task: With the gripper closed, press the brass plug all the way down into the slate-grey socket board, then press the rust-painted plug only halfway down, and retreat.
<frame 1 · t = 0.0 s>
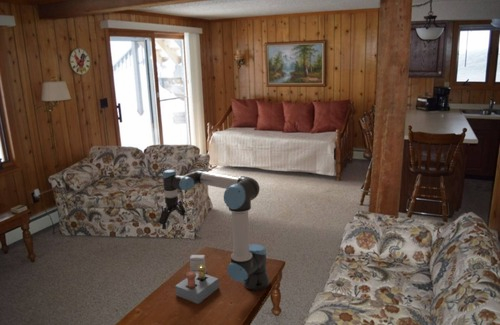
hand: (174, 229, 245), 28 cm above the table, fingers open, 13 cm apart
ink box: (198, 274, 249), on the table
brass plug: (201, 273, 232), point 9 cm above the table, slide at 0.0 cm
socket board: (197, 291, 231), on the table
rust plug: (191, 281, 225), point 9 cm above the table, slide at 0.0 cm
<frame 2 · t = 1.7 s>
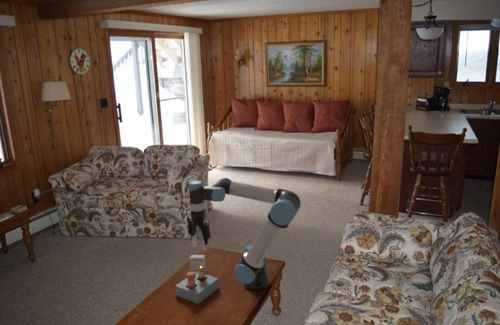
hand: (200, 247, 228), 25 cm above the table, fingers open, 7 cm apart
nothing on the table moved.
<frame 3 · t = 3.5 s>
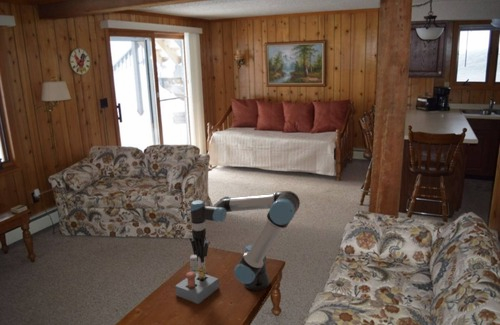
hand: (201, 266, 231), 13 cm above the table, fingers closed
brass plug: (201, 274, 232), point 9 cm above the table, slide at 0.3 cm, touching gripper
everything else where it was.
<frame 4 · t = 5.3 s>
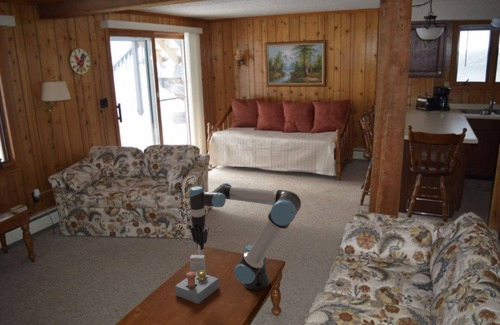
hand: (200, 254, 229), 21 cm above the table, fingers closed
brass plug: (202, 279, 233), point 5 cm above the table, slide at 3.4 cm
everything else where it was.
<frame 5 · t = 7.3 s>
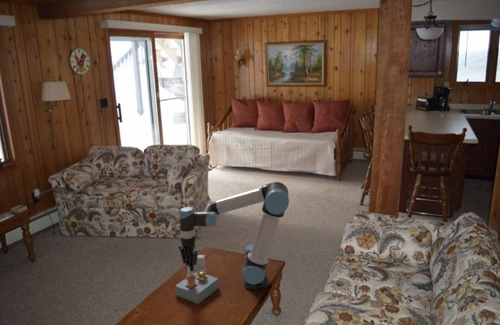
hand: (190, 275, 224), 12 cm above the table, fingers closed
rust plug: (191, 283, 225), point 8 cm above the table, slide at 1.1 cm, touching gripper
everything else where it was.
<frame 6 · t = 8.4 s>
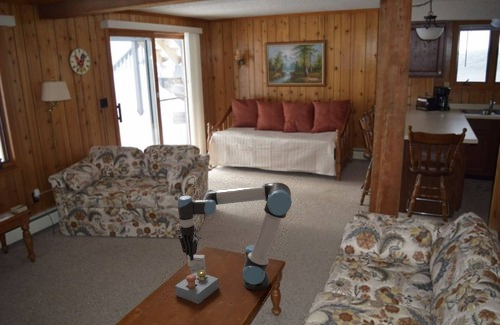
hand: (190, 265, 222), 19 cm above the table, fingers closed
rust plug: (191, 284, 225), point 7 cm above the table, slide at 1.8 cm
everything else where it was.
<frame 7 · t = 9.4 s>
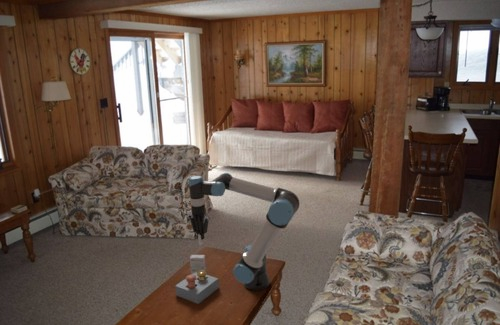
hand: (201, 244, 228), 27 cm above the table, fingers closed
nothing on the table moved.
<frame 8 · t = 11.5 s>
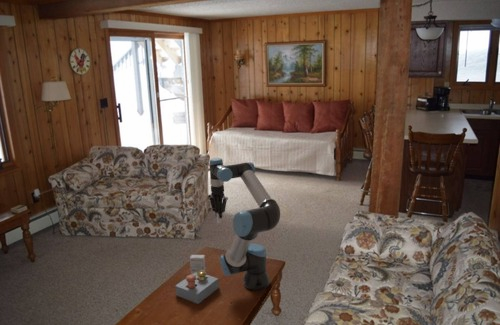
hand: (219, 222, 242), 32 cm above the table, fingers closed
nothing on the table moved.
at the end: brass plug slide at 3.4 cm; rust plug slide at 1.8 cm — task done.
